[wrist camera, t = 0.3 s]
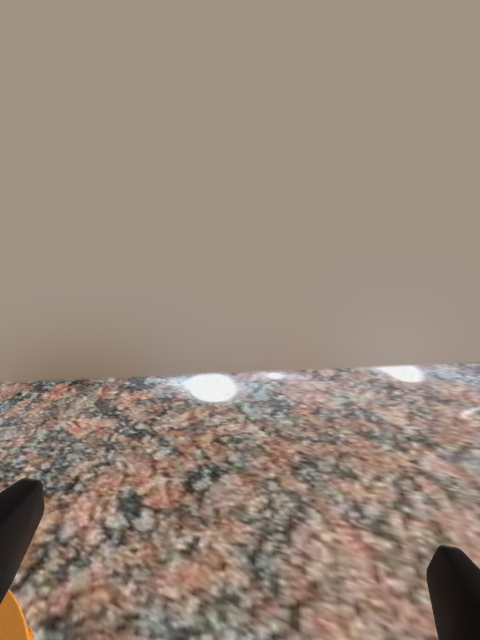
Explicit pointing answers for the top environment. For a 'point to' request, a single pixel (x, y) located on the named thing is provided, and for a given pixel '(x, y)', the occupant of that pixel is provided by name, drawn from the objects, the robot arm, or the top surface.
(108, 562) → the top surface
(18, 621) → the cap
